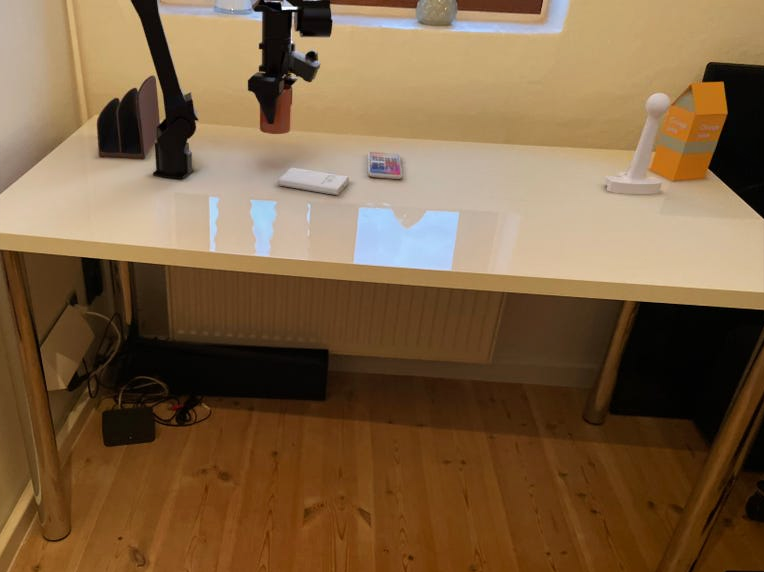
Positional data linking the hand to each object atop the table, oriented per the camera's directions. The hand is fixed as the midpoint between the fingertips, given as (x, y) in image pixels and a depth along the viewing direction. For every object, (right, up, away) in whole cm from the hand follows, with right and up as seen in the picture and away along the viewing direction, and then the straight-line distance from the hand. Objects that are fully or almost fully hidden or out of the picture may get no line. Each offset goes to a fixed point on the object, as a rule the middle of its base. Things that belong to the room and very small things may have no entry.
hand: (275, 119), depth 150 cm
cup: (0, -2, +1) cm, 2 cm away
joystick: (+75, -12, +8) cm, 77 cm away
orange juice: (+91, -7, +17) cm, 92 cm away
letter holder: (-33, 0, +17) cm, 37 cm away
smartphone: (+23, -7, +11) cm, 27 cm away
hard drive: (+8, -13, +1) cm, 16 cm away
